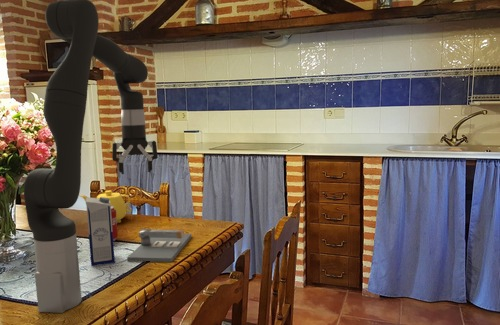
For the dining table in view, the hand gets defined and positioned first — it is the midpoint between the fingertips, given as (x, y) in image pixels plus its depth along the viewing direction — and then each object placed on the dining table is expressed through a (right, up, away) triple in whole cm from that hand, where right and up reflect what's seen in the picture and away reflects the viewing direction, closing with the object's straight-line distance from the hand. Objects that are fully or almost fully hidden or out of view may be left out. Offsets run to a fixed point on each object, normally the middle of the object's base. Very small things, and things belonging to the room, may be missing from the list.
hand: (136, 172), depth 138 cm
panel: (+8, -25, +1) cm, 27 cm away
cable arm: (+8, -21, +1) cm, 23 cm away
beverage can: (-13, -25, +11) cm, 30 cm away
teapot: (-22, -21, +36) cm, 47 cm away
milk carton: (-8, -27, -9) cm, 30 cm away
